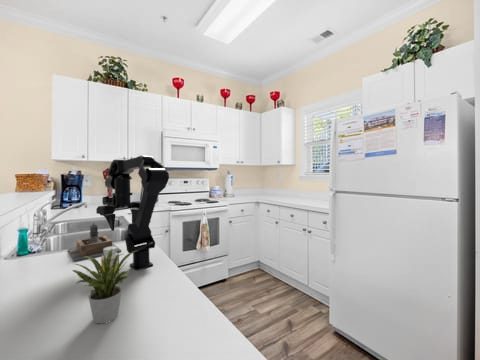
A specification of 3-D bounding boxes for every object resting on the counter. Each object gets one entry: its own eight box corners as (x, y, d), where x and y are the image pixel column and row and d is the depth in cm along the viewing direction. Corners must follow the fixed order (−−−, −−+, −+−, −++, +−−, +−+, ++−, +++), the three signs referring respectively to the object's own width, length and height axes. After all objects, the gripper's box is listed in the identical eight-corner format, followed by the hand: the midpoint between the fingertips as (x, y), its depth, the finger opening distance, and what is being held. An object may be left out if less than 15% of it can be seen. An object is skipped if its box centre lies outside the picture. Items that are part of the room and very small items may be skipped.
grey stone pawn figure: (92, 252, 103) (91, 224, 103) (83, 250, 106) (82, 223, 105) (105, 248, 108) (104, 222, 108) (96, 246, 111) (96, 220, 111)
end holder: (121, 251, 106) (121, 241, 106) (74, 261, 95) (74, 249, 95) (110, 242, 120) (109, 233, 119) (68, 250, 108) (68, 239, 108)
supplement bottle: (117, 278, 80) (117, 249, 80) (99, 280, 79) (99, 251, 78) (120, 271, 86) (120, 244, 85) (103, 273, 84) (103, 246, 84)
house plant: (125, 293, 70) (124, 238, 70) (151, 311, 61) (150, 247, 61) (67, 316, 59) (65, 251, 59) (88, 342, 50) (86, 265, 50)
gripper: (130, 188, 111) (131, 221, 112) (88, 191, 95) (89, 230, 96) (146, 189, 105) (147, 224, 106) (104, 192, 89) (105, 234, 90)
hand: (123, 228), depth 100 cm, fingers open, 9 cm apart
